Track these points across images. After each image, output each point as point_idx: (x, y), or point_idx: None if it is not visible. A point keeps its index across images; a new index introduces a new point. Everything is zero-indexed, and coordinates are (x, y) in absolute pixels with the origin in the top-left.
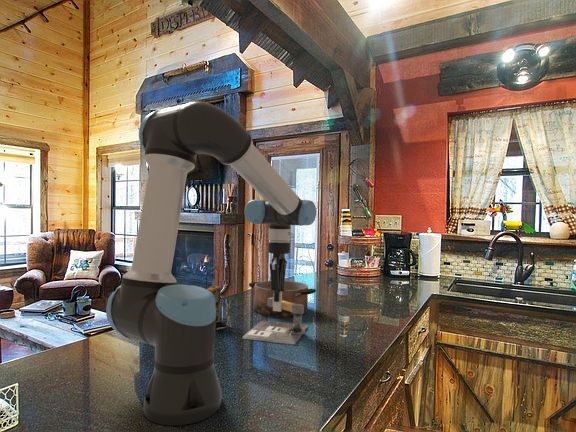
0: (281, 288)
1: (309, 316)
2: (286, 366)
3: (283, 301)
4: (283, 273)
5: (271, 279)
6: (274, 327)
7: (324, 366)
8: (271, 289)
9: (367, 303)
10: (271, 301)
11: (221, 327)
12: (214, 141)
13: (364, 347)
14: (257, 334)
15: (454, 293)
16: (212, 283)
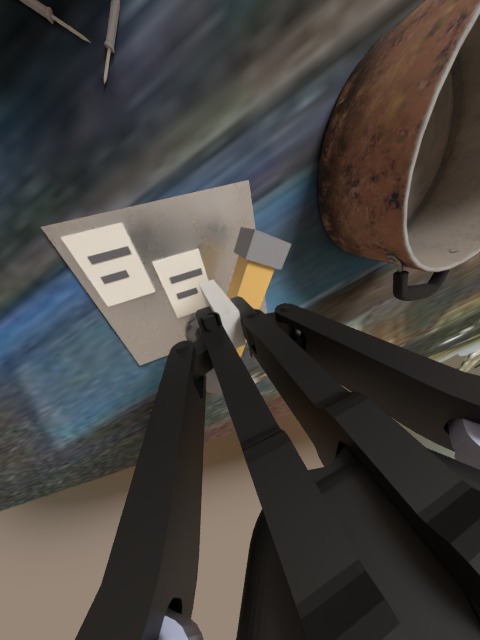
0: (252, 350)
1: (343, 274)
2: (14, 420)
3: None
4: (353, 387)
5: (152, 425)
6: (193, 273)
7: (89, 442)
8: (170, 352)
9: (435, 315)
10: (243, 257)
11: (38, 7)
12: None
13: (215, 422)
14: (95, 269)
15: (467, 368)
16: None
